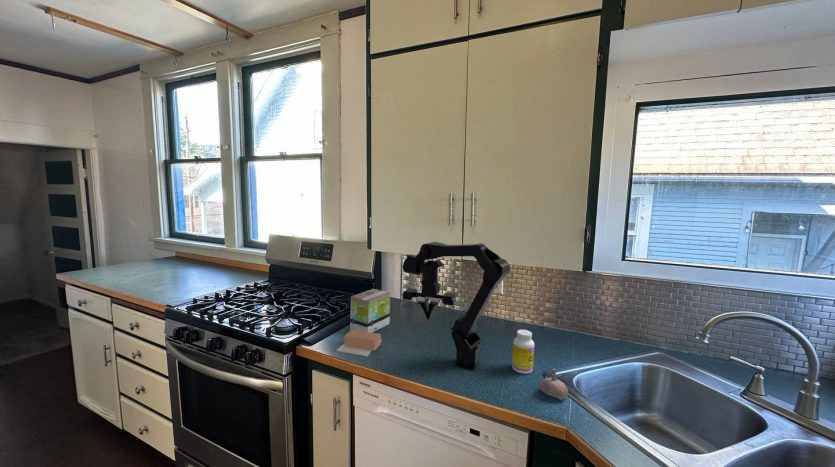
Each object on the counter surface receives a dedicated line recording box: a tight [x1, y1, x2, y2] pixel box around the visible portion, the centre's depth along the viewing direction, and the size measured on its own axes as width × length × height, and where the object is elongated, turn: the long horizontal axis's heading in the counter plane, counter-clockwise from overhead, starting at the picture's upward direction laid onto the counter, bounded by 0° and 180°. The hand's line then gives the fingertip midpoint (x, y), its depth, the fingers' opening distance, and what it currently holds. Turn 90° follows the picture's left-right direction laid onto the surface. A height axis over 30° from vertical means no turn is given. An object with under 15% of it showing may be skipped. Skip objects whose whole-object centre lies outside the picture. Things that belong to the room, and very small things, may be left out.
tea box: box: [349, 288, 391, 333], centre depth 146 cm, size 15×10×15 cm
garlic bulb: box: [539, 367, 569, 401], centre depth 100 cm, size 8×7×8 cm
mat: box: [336, 339, 382, 358], centre depth 129 cm, size 12×13×1 cm
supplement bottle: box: [511, 329, 535, 375], centre depth 114 cm, size 7×7×13 cm
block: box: [343, 330, 382, 352], centre depth 128 cm, size 4×6×12 cm
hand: (428, 319), depth 125 cm, fingers closed
